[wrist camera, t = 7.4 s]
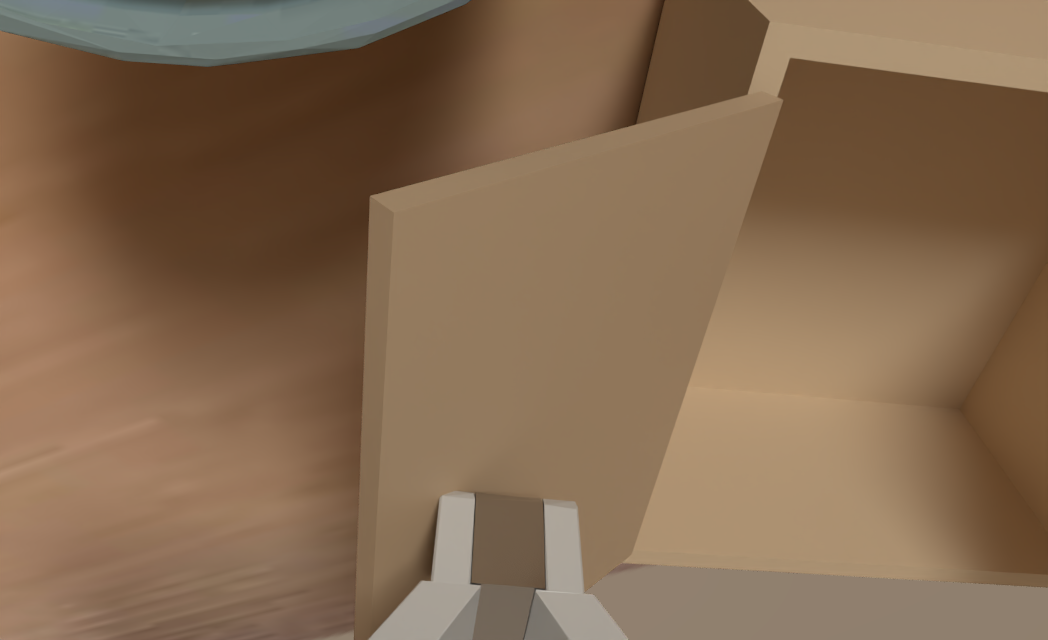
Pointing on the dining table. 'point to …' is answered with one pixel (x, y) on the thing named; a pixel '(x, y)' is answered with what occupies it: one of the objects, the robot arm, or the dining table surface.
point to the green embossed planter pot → (214, 26)
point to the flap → (543, 331)
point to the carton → (869, 295)
